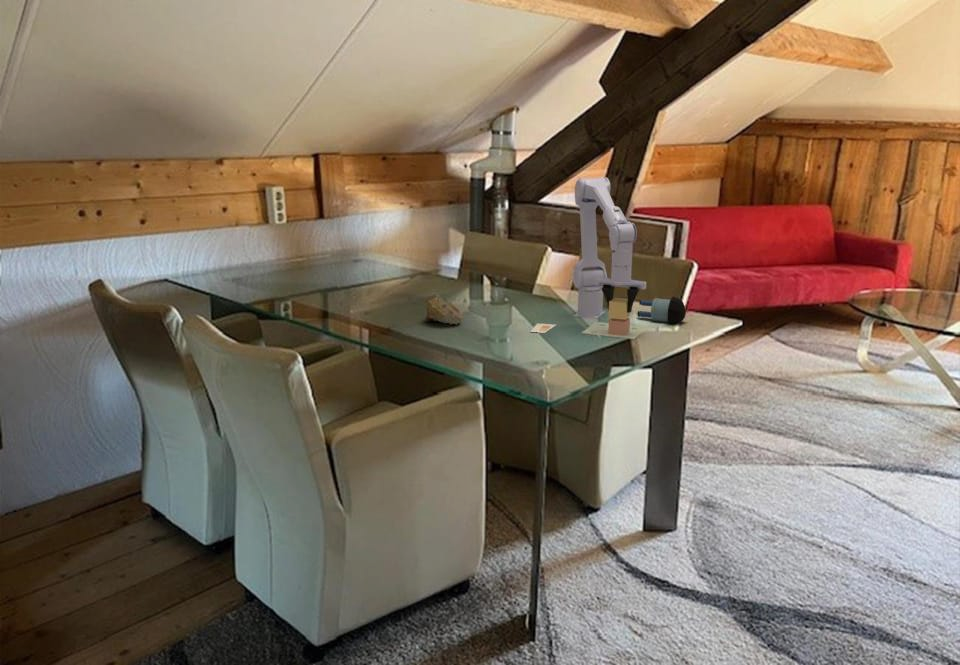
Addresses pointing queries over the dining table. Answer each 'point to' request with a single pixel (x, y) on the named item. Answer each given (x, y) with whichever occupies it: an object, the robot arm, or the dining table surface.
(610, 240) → the robot arm
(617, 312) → the ochre brick
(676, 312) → the toy
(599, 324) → the plate
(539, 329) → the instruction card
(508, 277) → the dining table surface
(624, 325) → the terracotta brick
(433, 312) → the seashell
